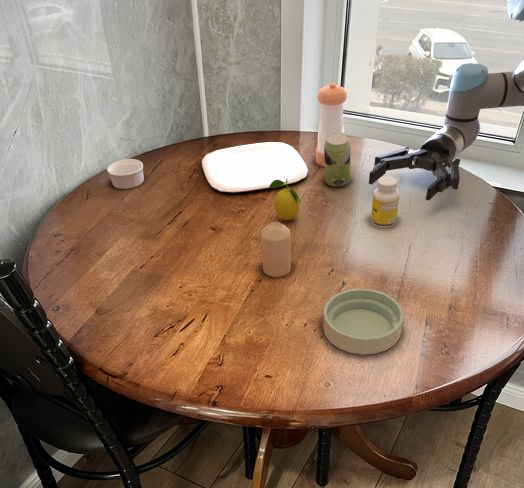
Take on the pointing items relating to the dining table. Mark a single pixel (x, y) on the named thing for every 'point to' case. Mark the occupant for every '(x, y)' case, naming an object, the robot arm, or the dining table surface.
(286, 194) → the lemon
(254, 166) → the plate
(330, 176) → the beverage can
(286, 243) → the candle
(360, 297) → the bowl
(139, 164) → the ramekin
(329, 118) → the pepper shaker
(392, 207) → the supplement bottle
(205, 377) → the dining table surface
